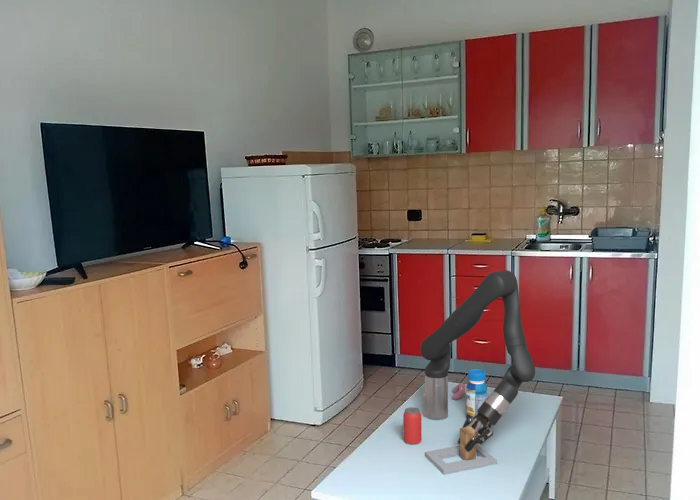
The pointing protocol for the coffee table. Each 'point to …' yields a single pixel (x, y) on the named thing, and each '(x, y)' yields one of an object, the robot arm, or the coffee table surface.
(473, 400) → the beverage bottle
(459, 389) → the video game controller
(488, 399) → the robot arm
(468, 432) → the tan peg
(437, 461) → the keyhole plate
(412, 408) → the beer can
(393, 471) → the coffee table surface
